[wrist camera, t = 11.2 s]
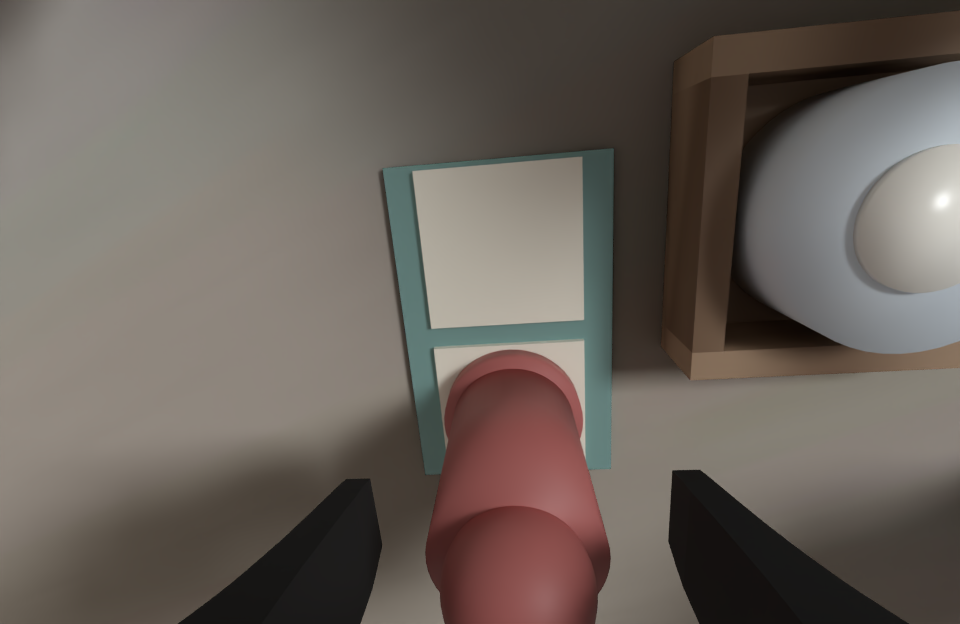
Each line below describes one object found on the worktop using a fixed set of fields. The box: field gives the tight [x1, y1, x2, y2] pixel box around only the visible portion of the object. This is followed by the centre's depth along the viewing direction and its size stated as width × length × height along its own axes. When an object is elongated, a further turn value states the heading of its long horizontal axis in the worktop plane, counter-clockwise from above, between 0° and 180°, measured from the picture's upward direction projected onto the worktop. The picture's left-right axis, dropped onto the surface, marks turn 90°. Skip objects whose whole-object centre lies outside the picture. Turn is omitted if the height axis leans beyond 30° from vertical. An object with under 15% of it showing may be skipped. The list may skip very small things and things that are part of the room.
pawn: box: [425, 349, 611, 624], centre depth 11 cm, size 4×4×8 cm
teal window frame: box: [383, 148, 614, 475], centre depth 14 cm, size 7×11×1 cm, turn 5°
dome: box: [731, 61, 960, 354], centre depth 11 cm, size 6×6×3 cm
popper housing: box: [661, 11, 960, 380], centre depth 12 cm, size 8×8×2 cm
